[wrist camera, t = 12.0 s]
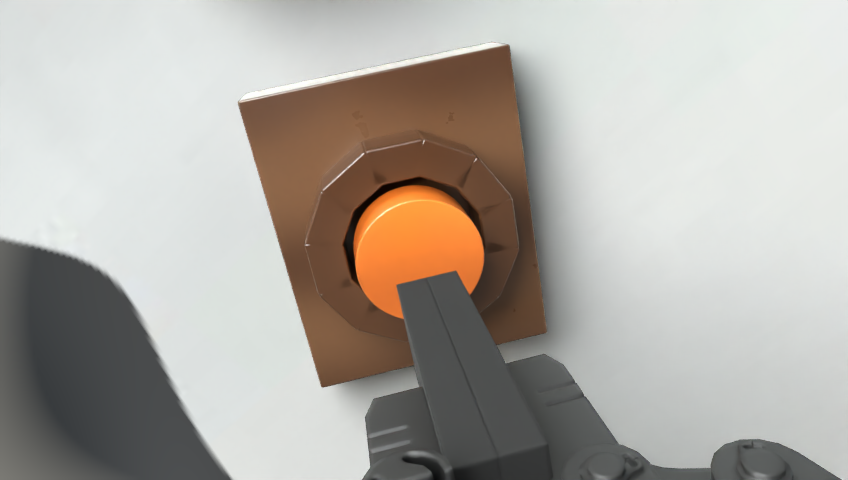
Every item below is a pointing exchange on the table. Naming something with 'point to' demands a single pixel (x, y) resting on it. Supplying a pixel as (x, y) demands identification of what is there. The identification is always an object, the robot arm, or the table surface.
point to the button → (414, 243)
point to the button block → (386, 170)
